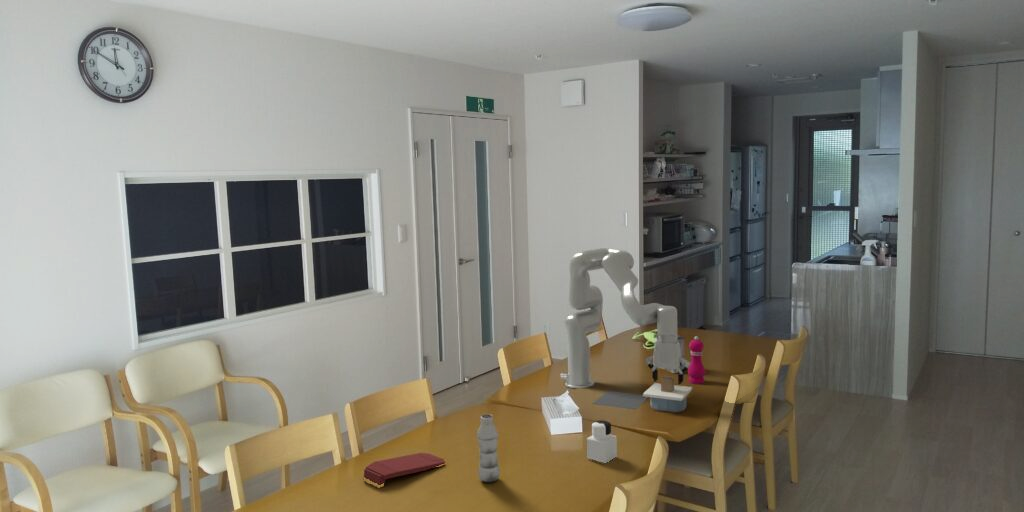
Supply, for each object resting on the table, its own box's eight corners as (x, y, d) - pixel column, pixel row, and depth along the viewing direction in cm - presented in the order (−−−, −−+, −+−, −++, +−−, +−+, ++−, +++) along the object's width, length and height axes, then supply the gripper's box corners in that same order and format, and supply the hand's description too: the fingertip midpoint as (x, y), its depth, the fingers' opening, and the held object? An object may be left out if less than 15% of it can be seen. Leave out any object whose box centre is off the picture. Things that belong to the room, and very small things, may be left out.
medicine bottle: (598, 452, 236) (597, 417, 235) (617, 457, 231) (616, 421, 230) (586, 459, 230) (585, 423, 229) (605, 464, 226) (604, 427, 225)
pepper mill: (705, 384, 305) (705, 338, 302) (688, 384, 306) (687, 338, 304) (704, 379, 312) (704, 334, 309) (687, 379, 313) (687, 334, 311)
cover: (642, 396, 275) (642, 380, 274) (654, 385, 288) (654, 370, 287) (681, 400, 268) (681, 385, 267) (692, 389, 281) (692, 374, 280)
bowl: (646, 409, 276) (646, 395, 275) (656, 399, 287) (656, 386, 287) (680, 414, 269) (680, 399, 269) (689, 403, 281) (689, 389, 280)
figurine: (662, 336, 395) (662, 326, 394) (680, 348, 369) (680, 337, 368) (630, 339, 392) (630, 328, 392) (646, 350, 366) (645, 340, 366)
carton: (423, 466, 240) (359, 480, 222) (424, 451, 240) (360, 464, 222) (447, 476, 231) (382, 491, 213) (448, 461, 231) (384, 474, 213)
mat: (591, 404, 284) (591, 403, 284) (608, 391, 299) (608, 390, 299) (635, 410, 275) (635, 409, 275) (650, 396, 291) (650, 395, 291)
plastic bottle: (499, 475, 221) (497, 412, 219) (500, 484, 214) (497, 419, 212) (478, 476, 221) (476, 413, 219) (478, 485, 214) (475, 420, 212)
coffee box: (661, 369, 331) (661, 334, 329) (673, 367, 333) (673, 333, 331) (673, 373, 322) (673, 338, 320) (685, 371, 325) (685, 337, 323)
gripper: (642, 338, 276) (643, 382, 278) (687, 342, 268) (687, 387, 270) (648, 334, 283) (649, 377, 285) (692, 338, 274) (692, 381, 276)
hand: (667, 382), depth 277 cm, fingers open, 9 cm apart
